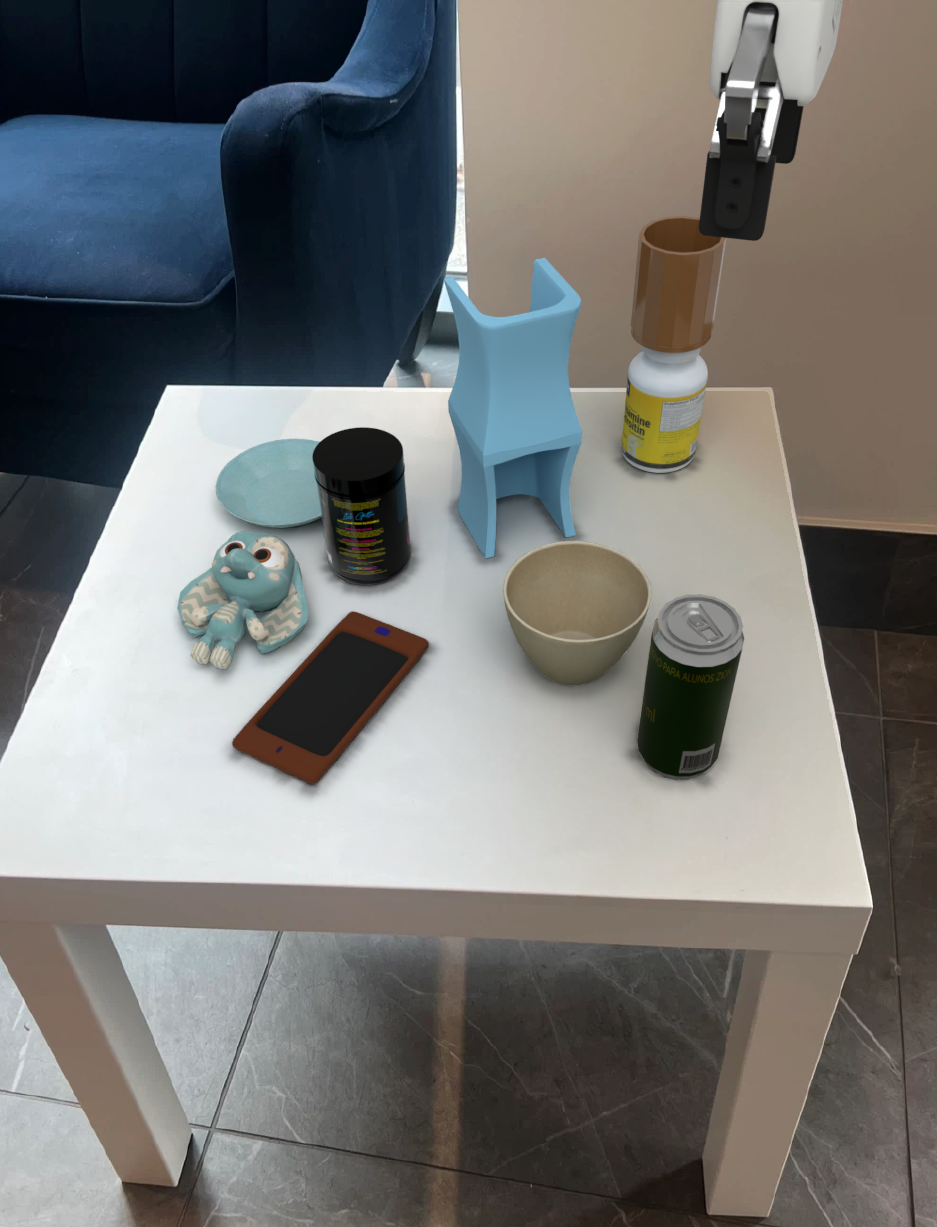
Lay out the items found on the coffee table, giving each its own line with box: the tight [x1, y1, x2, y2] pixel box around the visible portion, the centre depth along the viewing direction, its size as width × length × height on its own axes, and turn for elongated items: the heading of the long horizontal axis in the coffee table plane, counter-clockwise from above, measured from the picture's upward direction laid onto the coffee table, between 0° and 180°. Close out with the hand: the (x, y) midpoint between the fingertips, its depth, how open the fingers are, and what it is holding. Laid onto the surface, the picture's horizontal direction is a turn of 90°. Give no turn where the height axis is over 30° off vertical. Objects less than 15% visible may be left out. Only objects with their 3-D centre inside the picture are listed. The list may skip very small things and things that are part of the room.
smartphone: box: [231, 610, 430, 785], centre depth 78 cm, size 7×1×15 cm
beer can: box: [636, 593, 745, 781], centre depth 69 cm, size 5×5×12 cm
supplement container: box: [312, 426, 412, 586], centre depth 85 cm, size 7×7×10 cm
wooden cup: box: [630, 215, 727, 353], centre depth 85 cm, size 6×6×8 cm
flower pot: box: [502, 540, 653, 687], centre depth 77 cm, size 10×10×7 cm
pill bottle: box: [620, 345, 709, 474], centre depth 92 cm, size 6×6×12 cm
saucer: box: [215, 438, 322, 529], centre depth 94 cm, size 12×12×2 cm
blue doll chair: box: [443, 257, 583, 559], centre depth 84 cm, size 8×8×20 cm
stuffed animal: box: [176, 530, 310, 670], centre depth 82 cm, size 11×7×12 cm
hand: (748, 195), depth 59 cm, fingers open, 9 cm apart
